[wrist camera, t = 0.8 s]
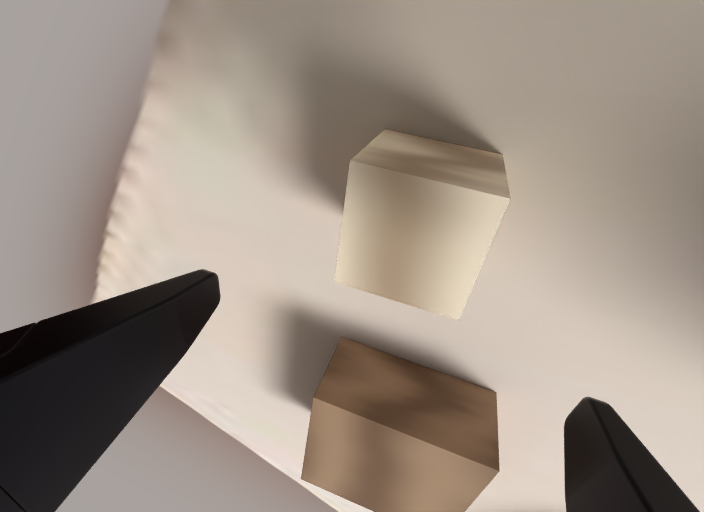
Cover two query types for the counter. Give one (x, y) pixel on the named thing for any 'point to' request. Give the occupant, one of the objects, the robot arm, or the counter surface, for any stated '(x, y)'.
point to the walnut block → (399, 434)
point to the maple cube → (420, 220)
